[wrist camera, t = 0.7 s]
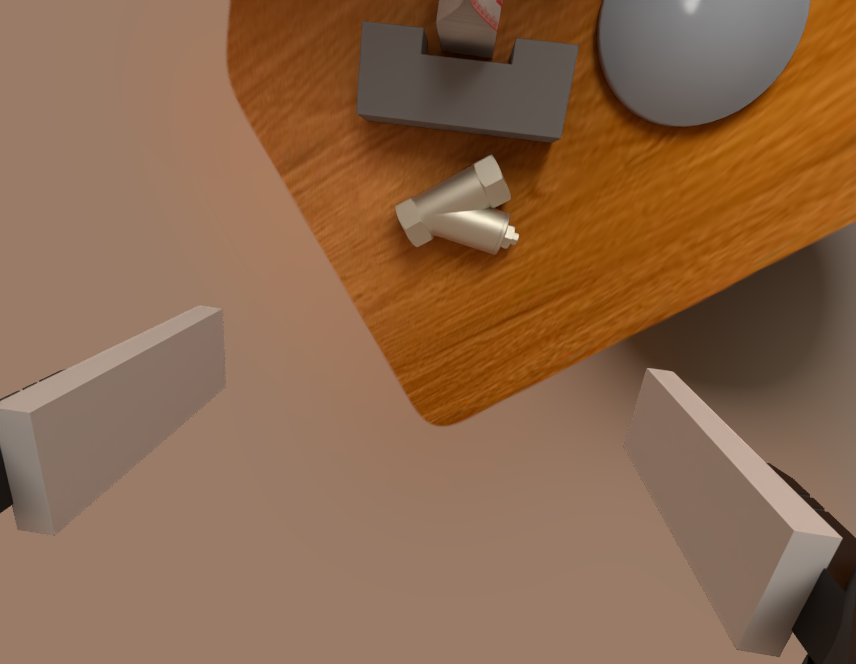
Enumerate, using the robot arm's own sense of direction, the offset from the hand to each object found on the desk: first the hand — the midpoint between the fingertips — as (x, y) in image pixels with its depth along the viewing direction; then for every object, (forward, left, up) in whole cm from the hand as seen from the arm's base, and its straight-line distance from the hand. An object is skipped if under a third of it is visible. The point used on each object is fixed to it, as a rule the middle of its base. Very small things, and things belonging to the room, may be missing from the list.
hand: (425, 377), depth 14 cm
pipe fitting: (-3, 0, -25) cm, 25 cm away
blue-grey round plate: (-18, +14, -24) cm, 33 cm away
